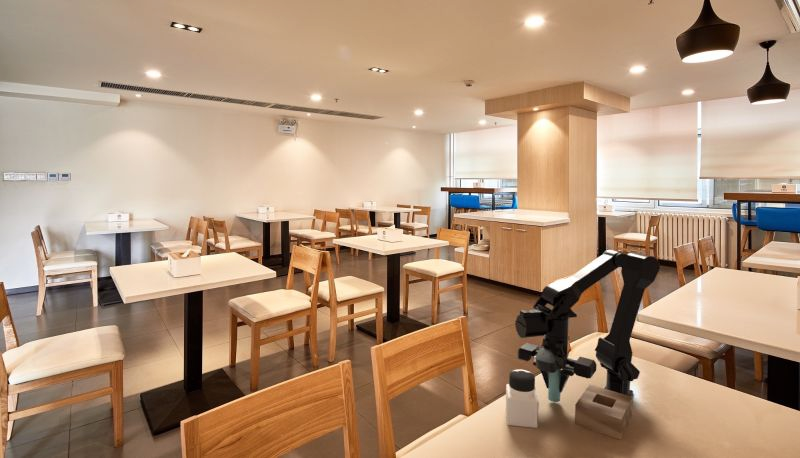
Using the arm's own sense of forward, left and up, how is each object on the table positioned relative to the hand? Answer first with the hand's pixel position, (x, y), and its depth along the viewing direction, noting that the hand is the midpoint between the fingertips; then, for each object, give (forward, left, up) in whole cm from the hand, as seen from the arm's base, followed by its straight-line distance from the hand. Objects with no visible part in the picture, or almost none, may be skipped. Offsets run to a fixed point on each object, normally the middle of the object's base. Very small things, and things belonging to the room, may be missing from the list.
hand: (554, 389), depth 107 cm
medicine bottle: (+12, -4, -4) cm, 13 cm away
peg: (0, 0, -3) cm, 3 cm away
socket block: (0, +12, -4) cm, 13 cm away
